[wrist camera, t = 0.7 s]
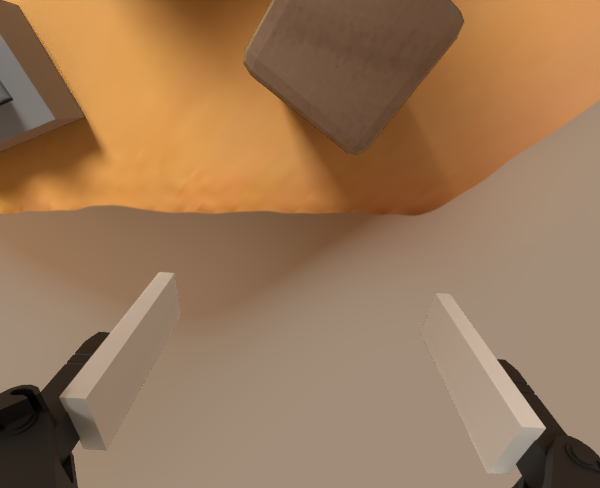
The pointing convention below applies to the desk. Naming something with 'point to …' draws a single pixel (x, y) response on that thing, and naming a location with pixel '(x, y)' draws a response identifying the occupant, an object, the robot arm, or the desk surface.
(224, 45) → the desk surface
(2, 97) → the slate-blue plunger
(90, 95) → the desk surface
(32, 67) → the gray slotted tray
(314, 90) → the wooden block
